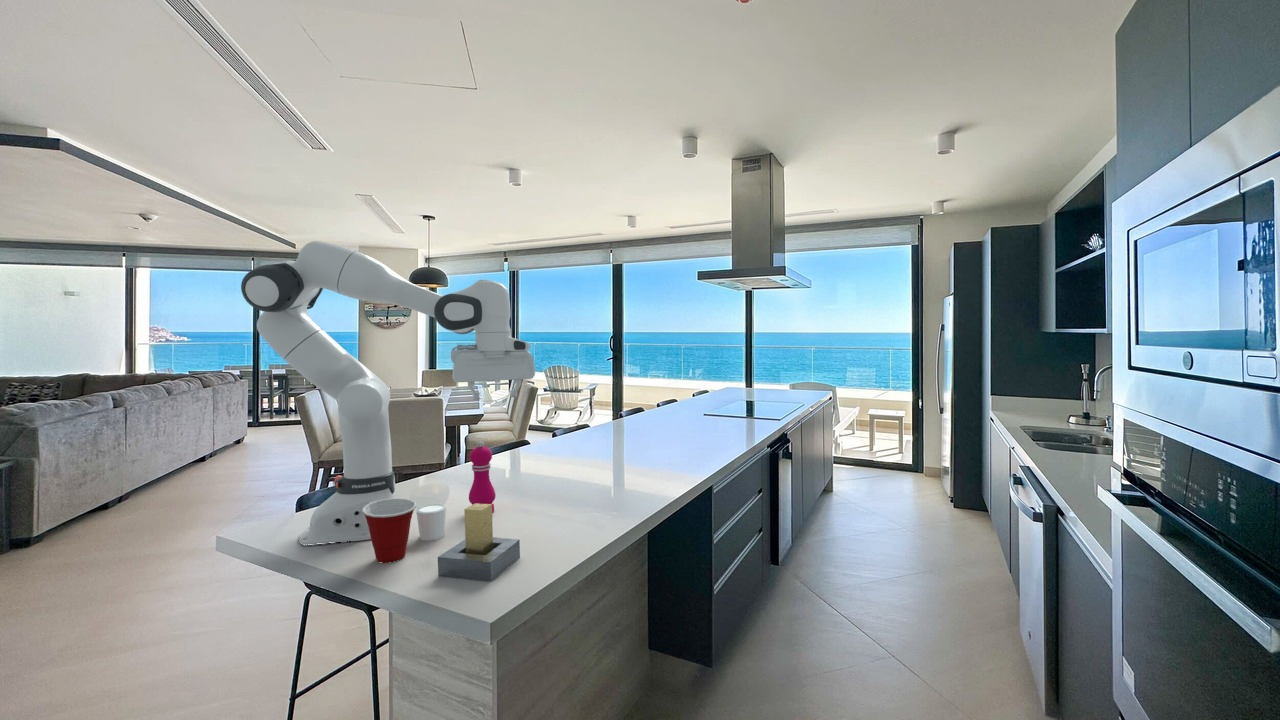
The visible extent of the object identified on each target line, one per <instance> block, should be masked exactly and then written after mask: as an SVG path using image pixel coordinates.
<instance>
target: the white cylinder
mask: <svg viewBox="0 0 1280 720" xmlns="http://www.w3.org/2000/svg"><path fill="white" fill-rule="evenodd" d="M415 511H416V512H415V513H416V517H417V526H418V533H419V539H420V540H421V541H424V540H425V542H427V541H435V540H439V539H441V537H442V538H443V537H444V536H445V532H446V531H445V530H446V518H447V517H446V512H447V506H446V505H444V504H440V503H439V504H428V505H423V506H421V507H419V508H417V509H416V510H415Z"/></svg>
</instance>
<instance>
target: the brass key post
mask: <svg viewBox="0 0 1280 720" xmlns="http://www.w3.org/2000/svg"><path fill="white" fill-rule="evenodd" d="M492 504H493V503H492ZM492 504H478V503H475V504H473V505H472V504H471V505H469V506H468V507H466V508H464V511H463V512H464V532H465V533H464V537H465V538H464V540H465V542H466V554H476V555H487V554H488V553H490V552H491V551H492V550H493V537H494V533H493V531H494V530H493V528H494V527H493V513H492Z"/></svg>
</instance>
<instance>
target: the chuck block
mask: <svg viewBox="0 0 1280 720" xmlns="http://www.w3.org/2000/svg"><path fill="white" fill-rule="evenodd" d="M520 544H521V542H520V539H517V538H505V537H496V536H495V537H494V536H493V550H492V551H491V552H490V553H488V554H487V555H476V554H466V542H465V539H463V540H462V541H460V542H459V543H457V544H456V545H454V546H453V547H451V548H450V549H448V550H447V551H444V552H442V554H440V555H438V556H437V576H438V578H439V577H441V578H449V579H456V580H457V579H459V580H469V581H477V582H487V583H492V582H493V581H495V580H496V579H497V578H498V577H499V576H500V575H501V574H502V573H504V572H505V571H506V570H507V569H508V568H509V567H510V566H512V565H513V564H514V563H515V562H517V561H518V560H519V559H520V558H521V548H520V547H521V545H520Z"/></svg>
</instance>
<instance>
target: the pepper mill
mask: <svg viewBox="0 0 1280 720" xmlns="http://www.w3.org/2000/svg"><path fill="white" fill-rule="evenodd" d="M476 444H477V445H476V447H474V448H473V449H471V451H470V453H469V460H470V462H471V463H472V465H471V467H472V468H471V471H473V481H472V485H471V487H470V490H469V494H468V501H469V503H470V504H471V505H473V504H475V503H478V504H492V514H493V513H494V512H495V504H494V501H495V500H496V497H497V496H496V490H495V487H494V485H493V484H492V482H491V479H490V469H491V463H490V462H491V460H492V459H493V452H492V451H491V449H490V448H489V447H487V446H485V443H484V441H481V440H480V441H478V442H477V443H476Z"/></svg>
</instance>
